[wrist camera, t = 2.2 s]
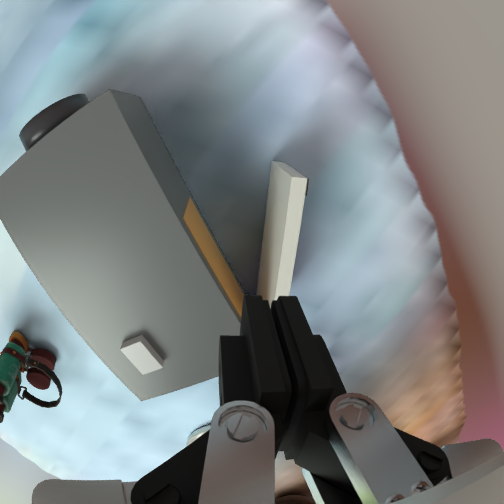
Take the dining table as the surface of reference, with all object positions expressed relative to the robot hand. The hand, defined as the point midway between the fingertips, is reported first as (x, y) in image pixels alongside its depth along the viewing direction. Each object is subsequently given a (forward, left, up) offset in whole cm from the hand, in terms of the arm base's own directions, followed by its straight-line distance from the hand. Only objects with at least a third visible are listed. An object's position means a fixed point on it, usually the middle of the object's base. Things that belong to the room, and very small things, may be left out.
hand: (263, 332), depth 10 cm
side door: (-5, -1, -18) cm, 19 cm away
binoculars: (-7, +32, -19) cm, 38 cm away
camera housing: (+2, +9, -18) cm, 20 cm away
